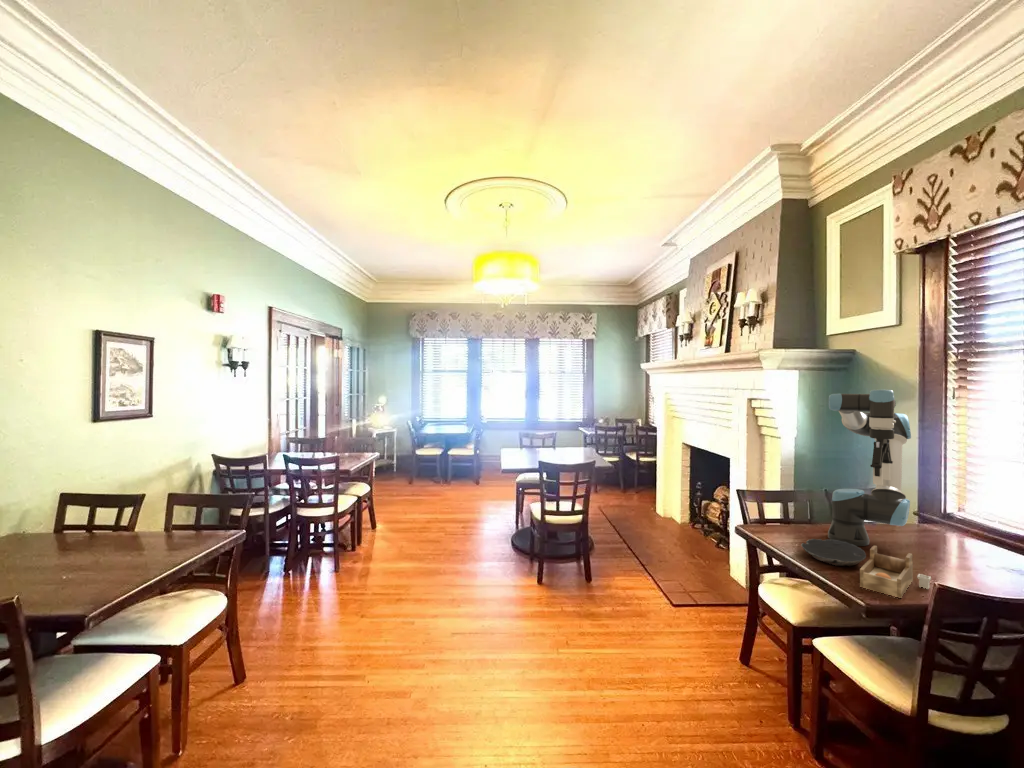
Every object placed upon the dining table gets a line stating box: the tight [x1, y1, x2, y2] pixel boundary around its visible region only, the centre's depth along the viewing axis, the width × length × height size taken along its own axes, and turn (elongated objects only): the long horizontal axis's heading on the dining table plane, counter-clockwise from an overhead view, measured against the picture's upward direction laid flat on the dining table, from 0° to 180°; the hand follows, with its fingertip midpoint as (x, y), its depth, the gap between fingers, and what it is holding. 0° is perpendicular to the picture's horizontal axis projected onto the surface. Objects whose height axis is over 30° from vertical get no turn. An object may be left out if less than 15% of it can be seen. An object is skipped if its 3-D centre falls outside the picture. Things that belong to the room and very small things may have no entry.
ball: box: [875, 573, 891, 579], centre depth 154 cm, size 5×5×5 cm
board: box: [801, 538, 867, 567], centre depth 179 cm, size 22×22×5 cm
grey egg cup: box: [916, 573, 932, 590], centre depth 155 cm, size 3×3×4 cm
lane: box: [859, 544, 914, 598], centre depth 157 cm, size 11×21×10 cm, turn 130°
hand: (881, 481), depth 174 cm, fingers open, 13 cm apart
